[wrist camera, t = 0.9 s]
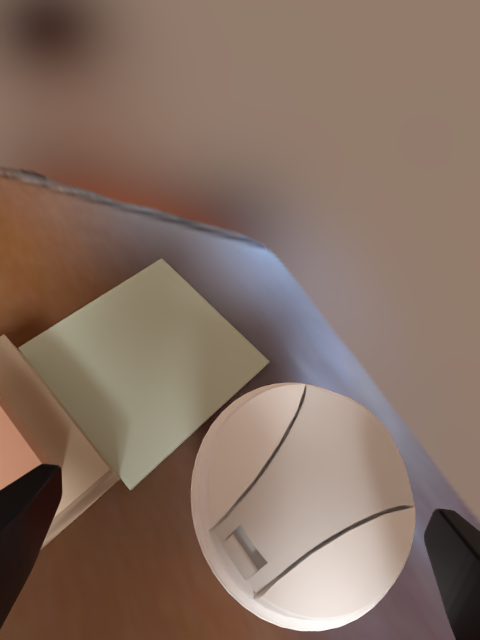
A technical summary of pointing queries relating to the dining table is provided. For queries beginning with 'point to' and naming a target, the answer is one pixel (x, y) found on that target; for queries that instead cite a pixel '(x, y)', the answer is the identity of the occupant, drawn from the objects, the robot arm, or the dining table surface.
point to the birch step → (54, 437)
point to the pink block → (16, 447)
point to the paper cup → (302, 506)
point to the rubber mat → (143, 367)
